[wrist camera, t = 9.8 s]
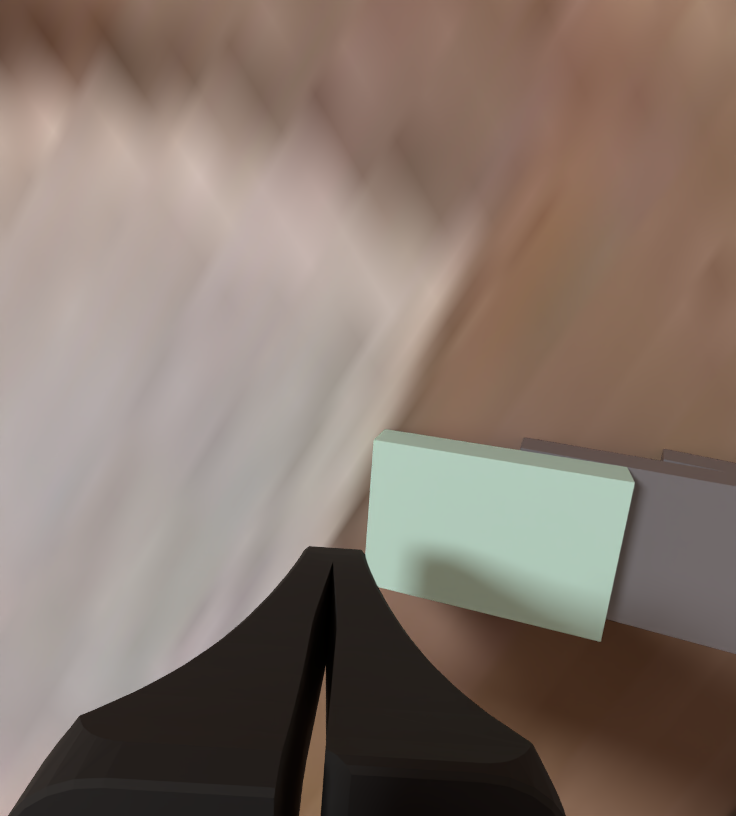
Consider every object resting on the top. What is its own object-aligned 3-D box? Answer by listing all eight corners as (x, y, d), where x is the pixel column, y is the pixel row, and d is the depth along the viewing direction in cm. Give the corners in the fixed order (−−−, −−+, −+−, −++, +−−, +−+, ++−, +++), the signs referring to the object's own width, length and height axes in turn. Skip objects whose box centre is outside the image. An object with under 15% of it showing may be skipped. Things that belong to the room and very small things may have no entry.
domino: (523, 437, 16) (788, 482, 14) (502, 571, 18) (742, 633, 15) (520, 448, 15) (807, 499, 13) (498, 590, 16) (756, 659, 14)
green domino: (363, 583, 16) (600, 642, 14) (373, 439, 15) (634, 482, 13) (374, 563, 17) (596, 616, 15) (384, 429, 16) (627, 467, 14)
